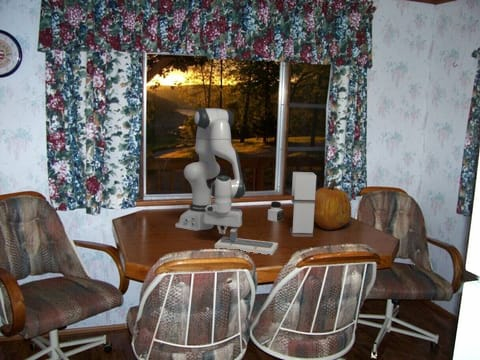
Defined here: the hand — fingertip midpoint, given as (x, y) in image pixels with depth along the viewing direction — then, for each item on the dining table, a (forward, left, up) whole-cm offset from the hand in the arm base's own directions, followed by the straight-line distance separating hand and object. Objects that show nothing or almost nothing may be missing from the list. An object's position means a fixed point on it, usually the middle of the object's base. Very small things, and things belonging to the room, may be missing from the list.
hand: (222, 233), depth 234 cm
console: (+13, 0, -6) cm, 14 cm away
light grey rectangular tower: (+36, +35, -6) cm, 51 cm away
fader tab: (+6, 0, -4) cm, 7 cm away
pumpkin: (+50, +55, -6) cm, 75 cm away
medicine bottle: (+16, +59, -6) cm, 61 cm away
